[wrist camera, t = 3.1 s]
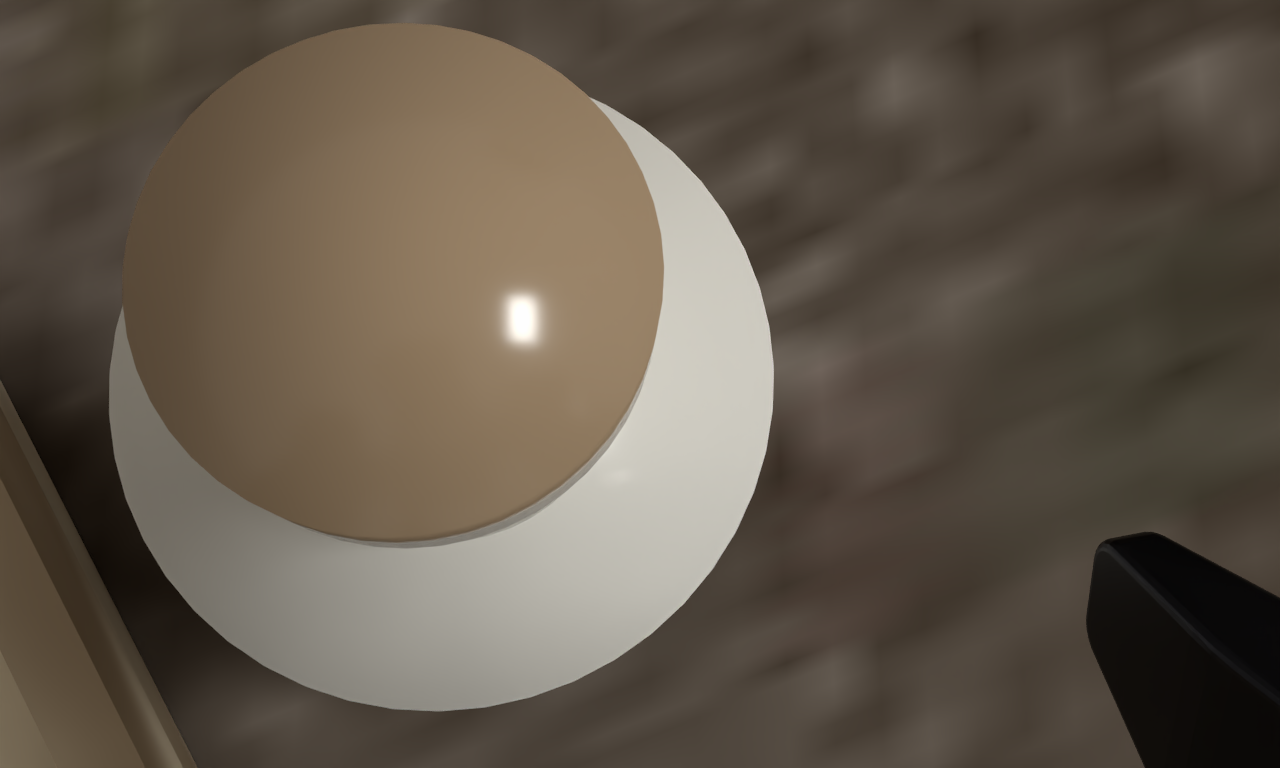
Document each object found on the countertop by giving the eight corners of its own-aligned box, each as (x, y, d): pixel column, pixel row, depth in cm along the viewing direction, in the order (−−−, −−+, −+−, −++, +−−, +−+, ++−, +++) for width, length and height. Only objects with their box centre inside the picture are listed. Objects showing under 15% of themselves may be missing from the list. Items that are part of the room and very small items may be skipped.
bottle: (457, 744, 19) (191, 926, 6) (304, 465, 20) (-212, 113, 7) (733, 575, 19) (1011, 423, 7) (574, 313, 20) (558, -256, 8)
